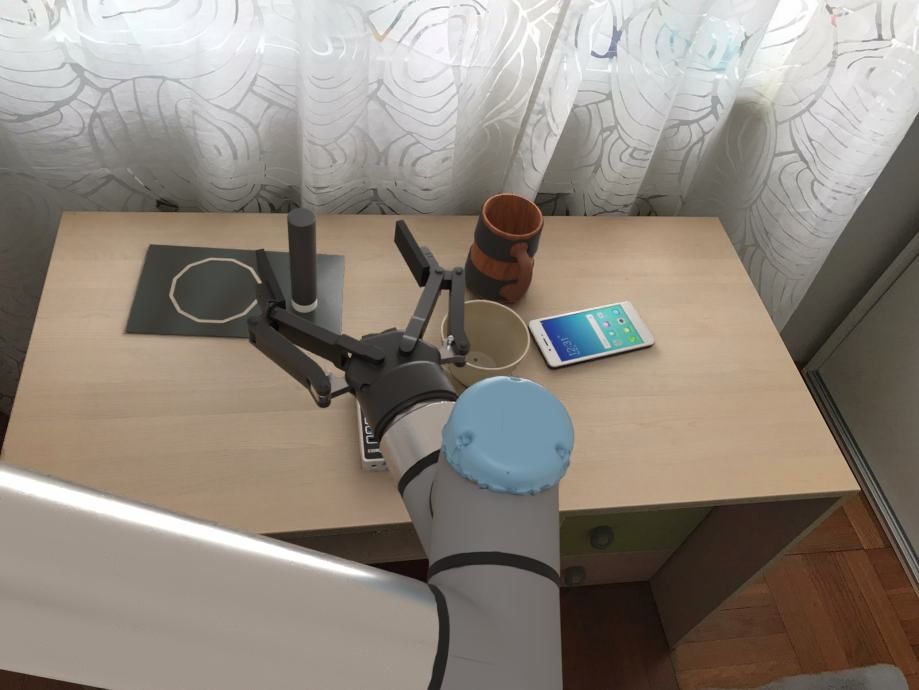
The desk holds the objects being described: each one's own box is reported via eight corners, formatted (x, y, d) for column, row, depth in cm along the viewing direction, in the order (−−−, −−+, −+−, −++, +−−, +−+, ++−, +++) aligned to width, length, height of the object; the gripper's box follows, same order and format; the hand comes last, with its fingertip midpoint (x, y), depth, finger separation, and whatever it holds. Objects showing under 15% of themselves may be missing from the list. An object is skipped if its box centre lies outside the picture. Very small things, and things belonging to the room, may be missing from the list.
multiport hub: (393, 384, 85) (395, 372, 83) (404, 469, 79) (406, 458, 77) (354, 385, 84) (355, 373, 82) (362, 472, 78) (362, 461, 76)
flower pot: (503, 418, 84) (516, 382, 79) (421, 388, 85) (428, 350, 80) (527, 354, 90) (540, 316, 85) (450, 327, 91) (457, 288, 86)
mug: (481, 330, 92) (498, 264, 83) (455, 261, 99) (468, 193, 89) (545, 321, 94) (569, 256, 85) (515, 254, 101) (534, 187, 92)
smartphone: (657, 343, 93) (551, 367, 88) (655, 347, 94) (549, 371, 89) (629, 299, 97) (526, 320, 92) (627, 303, 98) (525, 325, 93)
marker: (291, 312, 89) (285, 225, 78) (293, 293, 91) (288, 206, 80) (316, 313, 89) (314, 227, 79) (318, 294, 91) (316, 208, 80)
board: (125, 333, 84) (124, 331, 84) (150, 245, 93) (149, 243, 93) (339, 342, 88) (339, 340, 87) (344, 256, 96) (344, 255, 96)
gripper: (268, 497, 58) (202, 301, 69) (542, 406, 67) (445, 246, 78) (262, 448, 52) (190, 242, 63) (564, 356, 61) (456, 190, 72)
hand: (331, 244), depth 70 cm, fingers open, 13 cm apart
